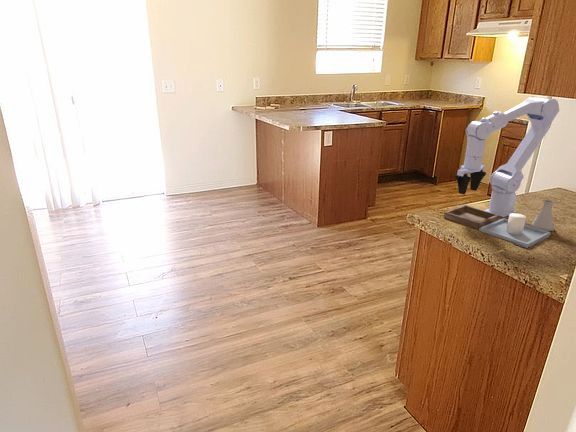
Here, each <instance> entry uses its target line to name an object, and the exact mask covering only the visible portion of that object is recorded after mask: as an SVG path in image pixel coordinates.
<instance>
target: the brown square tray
mask: <svg viewBox="0 0 576 432" xmlns="http://www.w3.org/2000/svg"><path fill="white" fill-rule="evenodd" d="M484 210H485V209H484ZM484 210H483V209H480V208H476V207H473V206H470V205H467V204H464V205H461V206H458V207H455V208H453V209H449V210H447V211H444V212H443V218H444V219H446V220H450V221H453V222H455V223H459V224H461V225H464V226H467V227H471V228H473V229H477V230H479V229H480V228H481V227H483V226H486V225H488V224H491V223H493V222H495V221H498V220H500V219H499V218H500V216H499V215H497V214H494V213H490V212H487V211H484Z"/></svg>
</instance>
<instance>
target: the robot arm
mask: <svg viewBox="0 0 576 432" xmlns="http://www.w3.org/2000/svg"><path fill="white" fill-rule="evenodd" d="M559 105H560V104H559V101H558V100H557V99H555V98H546V97H538V96H531V97H528V98H526V99H524V100H523V102H521V103H518V104H517V105H515V106H514V107H512V108H510V109H508V110H506V111H504V112H502V111H493V112H492V114H491V115H487V116H486V117H482V118H481V119H479V121H478V120H473V121H471V122H470V123H469V124H467V127H466V128H465V134H466V137H467V138H466V140H467V143H466V149H465V156H464V160H463V161H464V162H463V165H460V169H457V173H455V175H454V178H455V180H456V183H457V187H458V194H460V195H466V193H467V190H468V186H469V189H470V190H471V191H474V192H476V191H477V190H478V189H479V186H480V183H481V182H482V180H483V179H484V178H485V176H486V175H487V171H485V168H486V165H484V164H482V162H483V157H484V152H485V146H486V140H488V139H489V137H490V136H491V135H492V133H494V132H497V131H499V130H501V129H503V128H505V127H506V126H507V125H508V123H509V122H510V121H513V120H515V119H518V118H520V117H522V116H527V118H528V120H529V122H530V124H531V126H530V128H529V130H528V131H527V133H526V134H525V135H524V137H523V138H522V140H521V142H520V143H519V145H518V146H517V148H516V149H515V150H514V152H513V154H512V155H511V157H509V160H508V161H507V162H506V163H505V164H504V163H503V164H502V165H500V166H499V167H498V168H497V169H496V170H495V171H494V172H492V173H491V174H490V177H489V184H490V185H491V190H492V191H491V196H490V199H489V200H490V201H489V205H488V208H486V209H484V211H487V212H490V213H494V214H497V215H499V217H502V218H505V217H507V216H508V217H509V214H511V213H516V212H517V211H516V210H514V209H515V205H516V201H517V193H516V192H517V191H518V190H519V189H520V187H521V183H522V181H523V179H524V175H523V171H522V170H523V168H525V166H526V164H527V163H528V161H529V160H530V158H531V157H532V155H533V153H534V152H535V151H536V149H537V148H538V146H539V145H540V144H541V142H542V141H543V139H544V138H545V136H546V134H548V132H549V130H550V128H551V126H552V123H553V122H554V120H555V118H556V116H557V115H558V114H559V112H560V106H559ZM468 175H470V176H468ZM469 184H470V185H469Z"/></svg>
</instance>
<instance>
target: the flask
mask: <svg viewBox="0 0 576 432" xmlns="http://www.w3.org/2000/svg"><path fill="white" fill-rule="evenodd" d="M554 204H555V201H554V200H551V199H544V200H543V206H542V208H541V210H540V211H539V213H538V214H537V215H536V217H535V218H534V220H533V221H532V223H531V226H532V227H535V228H538V229H541V230H545V231H548V232H554V231H555V228H554V220H553V213H552V212H553V205H554Z"/></svg>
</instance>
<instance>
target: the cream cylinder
mask: <svg viewBox="0 0 576 432" xmlns="http://www.w3.org/2000/svg"><path fill="white" fill-rule="evenodd" d="M526 220H527V216H526V215H524V214H521V213H516V212H515V213H511V214H509V215H508V224H507V228H506V232H507V233H509V234H511V235H522V234H523V229H524V225H526Z"/></svg>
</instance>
